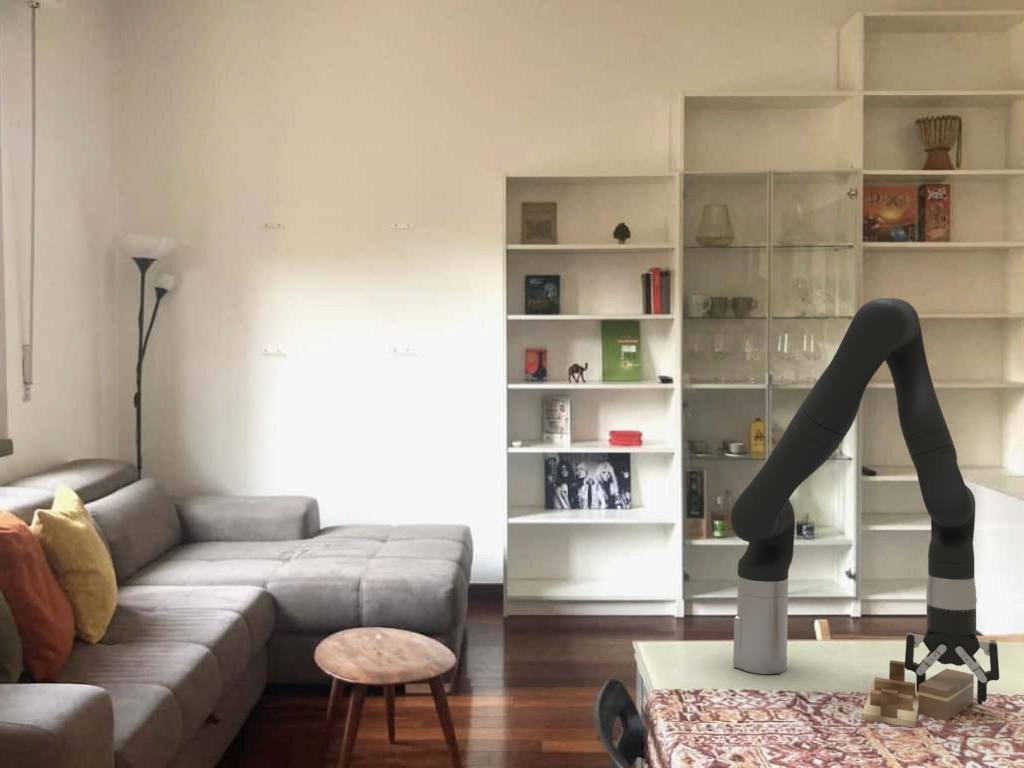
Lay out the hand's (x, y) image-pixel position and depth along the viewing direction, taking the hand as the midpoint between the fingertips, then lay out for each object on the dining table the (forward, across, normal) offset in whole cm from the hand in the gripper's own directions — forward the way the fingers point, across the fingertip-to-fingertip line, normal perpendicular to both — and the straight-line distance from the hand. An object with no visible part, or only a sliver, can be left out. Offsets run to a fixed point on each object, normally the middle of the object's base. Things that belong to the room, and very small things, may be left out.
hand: (951, 699), depth 161 cm
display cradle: (+1, -9, -3) cm, 9 cm away
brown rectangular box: (+2, -1, 0) cm, 2 cm away
